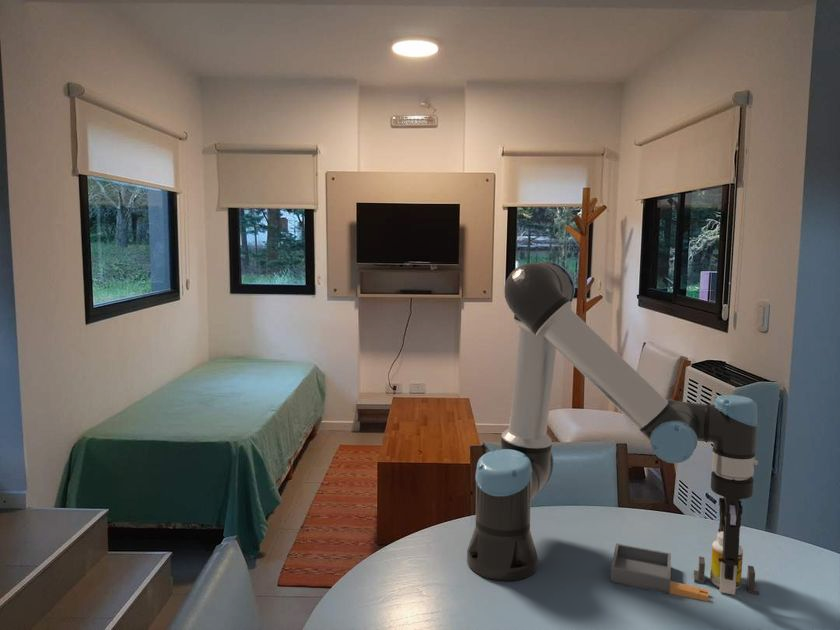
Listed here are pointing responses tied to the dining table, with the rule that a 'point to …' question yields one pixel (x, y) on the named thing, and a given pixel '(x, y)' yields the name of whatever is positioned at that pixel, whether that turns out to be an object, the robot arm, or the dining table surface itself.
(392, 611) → the dining table surface
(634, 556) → the parts tray
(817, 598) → the dining table surface
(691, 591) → the fuse puller tool
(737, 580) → the supplement bottle
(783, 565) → the dining table surface
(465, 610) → the dining table surface
